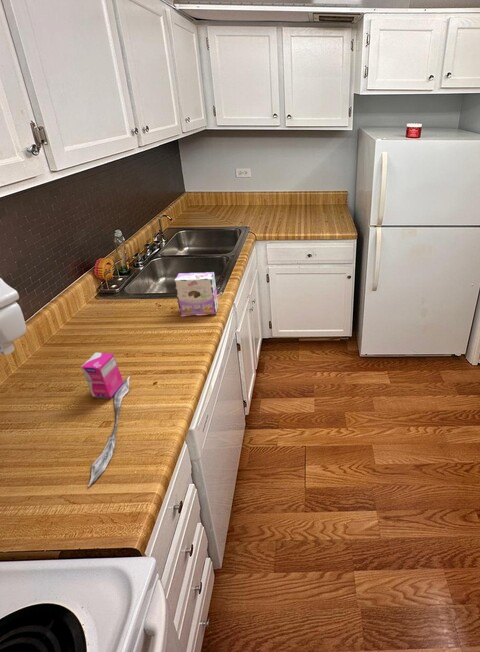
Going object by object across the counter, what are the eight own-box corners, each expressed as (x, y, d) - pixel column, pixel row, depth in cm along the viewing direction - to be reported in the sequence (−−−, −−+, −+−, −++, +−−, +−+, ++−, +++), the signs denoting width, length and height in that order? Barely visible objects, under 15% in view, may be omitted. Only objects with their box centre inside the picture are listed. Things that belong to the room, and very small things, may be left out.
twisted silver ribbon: (85, 489, 71) (111, 481, 73) (84, 487, 71) (111, 479, 73) (114, 379, 99) (133, 375, 101) (114, 377, 99) (132, 373, 101)
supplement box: (92, 398, 93) (79, 366, 89) (107, 382, 98) (96, 351, 94) (110, 400, 92) (98, 368, 88) (124, 383, 97) (114, 352, 93)
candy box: (219, 307, 135) (214, 271, 129) (216, 315, 129) (211, 278, 123) (184, 308, 133) (178, 272, 128) (179, 317, 128) (173, 280, 122)
